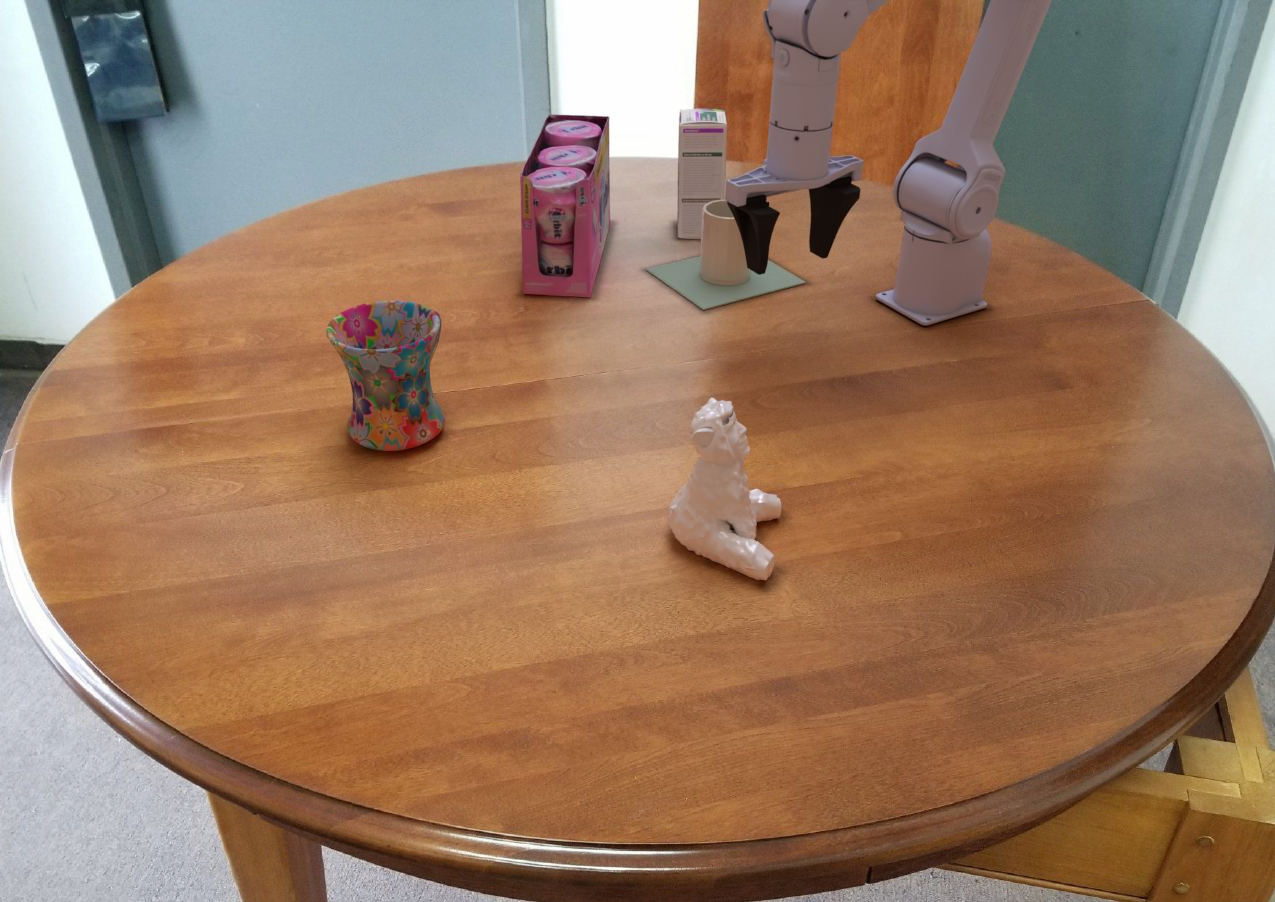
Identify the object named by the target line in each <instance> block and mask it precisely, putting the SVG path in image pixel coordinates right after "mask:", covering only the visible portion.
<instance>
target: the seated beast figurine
mask: <svg viewBox="0 0 1275 902" xmlns="http://www.w3.org/2000/svg"><path fill="white" fill-rule="evenodd" d="M734 408H735V407H734V406H733V401H732V400H723V399H721V400H719V401H718V400H717V399H716V398H715V397H710V398H709V399H708V401H707V402H706V404H704V405H702V406H701V408H700V410H698V411H695V412H694V413H693V418H692V419H691V422H690V424H689V426H688V432H689V433H690V436H689V437H690V438H689V440H690V442H691V445H692V447H693V448H694V449H695V451H696V452H697V454H698V455H699V456H700V457H698V458H696V460H695V463H694V464H693V469H692V470H691V471H690V473H689V477H688V479H687V482H686V483H685V484H683V485H681V487H680V488H679V491H678V492H677V493H676V495H675V496H674V498H673V500H672V501H671V502H670V504H669V505H668V506H667V509H666V510H667V513H668V516H667V523H668V524H667V525H668V527H669V528H670V529H671V532H672V533H673V535H674V537H675V539H676V540H677V541H678V542H679V543H680V544H681V545H683V546H684V547H685V548H686V549H687V551H691V552H694V553H695V555H697V556H702V557H703V558H707V559H709V560H710V561H711V562H715V563H717V564H720V565H723V566H725V567H726V568H729V569H730V570H733V571H736V572H738V573H740V574H742V575H744V576H747V577H749V578H751V579H752V580H753V579H754V580H756V581H760V580H761V581H767V580H768V578H770V577H771V574H772V572H773V570H774V568H775V563H776V556H775V554H773V552H771V550H769V549H768V548H767V547H765V545H764V544H761V542H759V541H757V540H755V539H756V538H757V525H758V524H757V523H759V522H765V521H772V520H776V519H779V518H780V517H781V514H782V501H781V499H780V498H779V497H778V494H775V493H774V494H773V493H767V492H765V491H762V490H761V489H760V488H754V489H752V490H751V489H750V487H749V485H748V483H749V477H748V475H747V472H746V471H745V458H747V457H749V455H750V451H751V448H750V446H749V441H748V436H747V435H746V433H747V431H748V428H747V427H746V426H745V425H743V424H742V423H740V422H739V421H738V418H737V416H736V413H735V410H734Z"/></svg>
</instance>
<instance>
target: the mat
mask: <svg viewBox="0 0 1275 902" xmlns="http://www.w3.org/2000/svg"><path fill="white" fill-rule="evenodd" d="M645 271H646V272H647V273H649V274H650V275H652V276H654V278H656V279H658V280H659V281H660V282H661V283H663V284H665V285H667V286H668V287H669V288H670V289H672V290H673V291H675V292H676V293H678V294H679V295H680V296H682V297H683V298H685V299H687V300H688V301H689V302H690V303H692V304H694V306H696V307H697V308H699V309H700V310H702V311H707V310H710V309H715V308H718V307H721V306H725V305H729V304H733V303H737V302H740V301H745V300H748V299H752V298H756V297H759V296H763V295H767V294H772V293H775V292H779V291H782V290H786V289H790V288H794V287H798V286H801V285H806V281H805V280H803V279H801V278H799V277H798V276H796V275H795V274H793V273H791V272H790V271H788V270H786V269H784V268H783V267H781V266H780V265H778V264H776V263H775V262H773V261H771V260H769V259H768V264H767V268H766V271H765V274H761V275H758V274H756V273H755V272H753V271H752V270H751V272H750V278H749V280H748V281H746V282H745V283H742V284H739V285H733V286H721V285H715V284H711V283H708V282H706V281H704V280H703V279H702V278H701V277H700V255H699V256H694V257H689V258H686V259H682V260H678V261H673V262H670V263H665V264H660V265H657V266H653V267H648V268H646V270H645Z"/></svg>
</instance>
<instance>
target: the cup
mask: <svg viewBox="0 0 1275 902" xmlns="http://www.w3.org/2000/svg"><path fill="white" fill-rule="evenodd" d="M699 251H700V252H699V256H700V277H701V278H702V279H703V280H704V281H706V282H708V283H711V284H715V285H721V286H733V285H739V284H742V283H745V282H746V281H748V280H749V278H750V272H751V270H750V269H748V268H747V263H746V257H745V251H744V246H743V242H742V238H741V235H740V231H739V228H738V226H737V223H736V221H735V218H734V216H733V214H732V212H731V210H730V208H729V206H728V205H727V201H726V200H715V201H711V202H708V203H706V204H705V205H704V206H703V208H702V227H701V239H700V250H699Z"/></svg>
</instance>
